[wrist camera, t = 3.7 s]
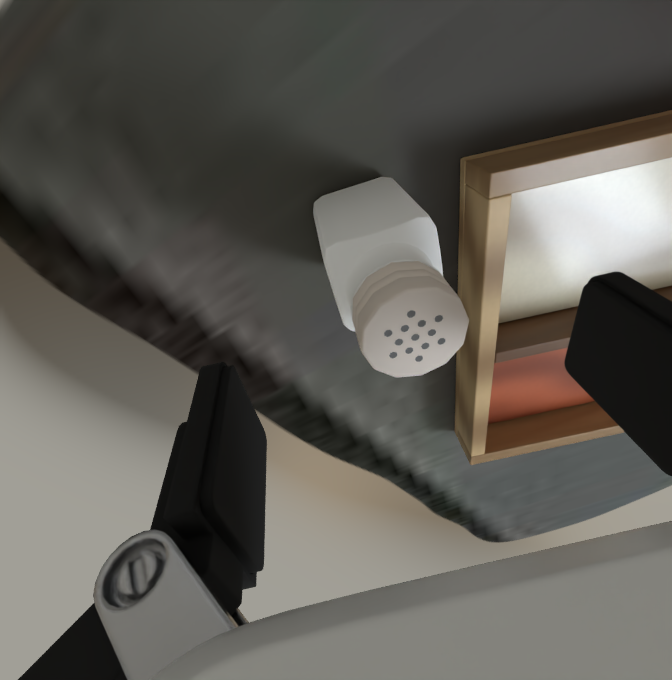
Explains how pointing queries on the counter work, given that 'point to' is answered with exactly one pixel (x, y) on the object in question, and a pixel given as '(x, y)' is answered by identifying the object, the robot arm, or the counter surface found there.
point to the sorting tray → (551, 274)
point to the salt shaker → (389, 277)
